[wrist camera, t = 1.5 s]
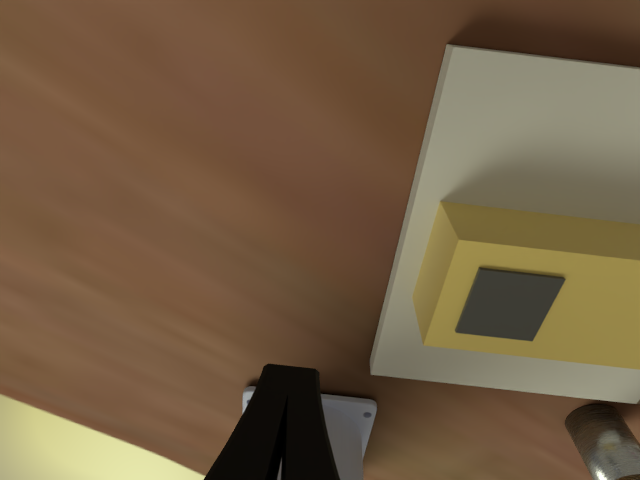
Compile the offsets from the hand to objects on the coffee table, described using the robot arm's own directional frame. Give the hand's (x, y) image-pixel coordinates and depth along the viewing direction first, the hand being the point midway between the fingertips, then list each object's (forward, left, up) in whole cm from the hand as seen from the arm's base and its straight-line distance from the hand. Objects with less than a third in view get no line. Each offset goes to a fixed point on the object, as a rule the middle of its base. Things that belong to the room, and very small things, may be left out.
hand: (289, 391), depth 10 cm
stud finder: (0, -10, -8) cm, 12 cm away
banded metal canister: (-11, -18, -9) cm, 23 cm away
